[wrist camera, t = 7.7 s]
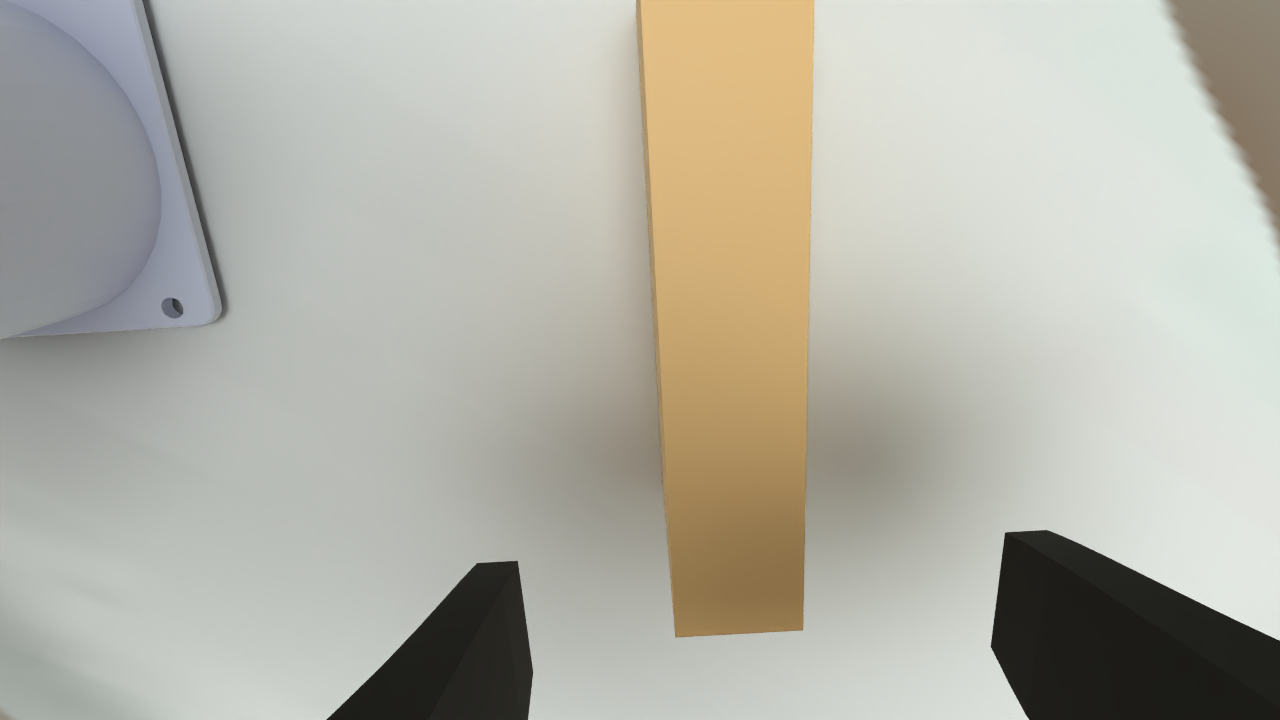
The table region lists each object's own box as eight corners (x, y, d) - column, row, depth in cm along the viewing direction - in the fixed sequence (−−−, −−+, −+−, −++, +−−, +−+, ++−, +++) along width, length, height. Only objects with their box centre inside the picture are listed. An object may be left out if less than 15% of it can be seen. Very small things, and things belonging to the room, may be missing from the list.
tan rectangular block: (663, 487, 19) (675, 637, 13) (636, 15, 15) (637, -65, 9) (751, 481, 19) (803, 630, 13) (746, 7, 15) (816, -78, 9)
